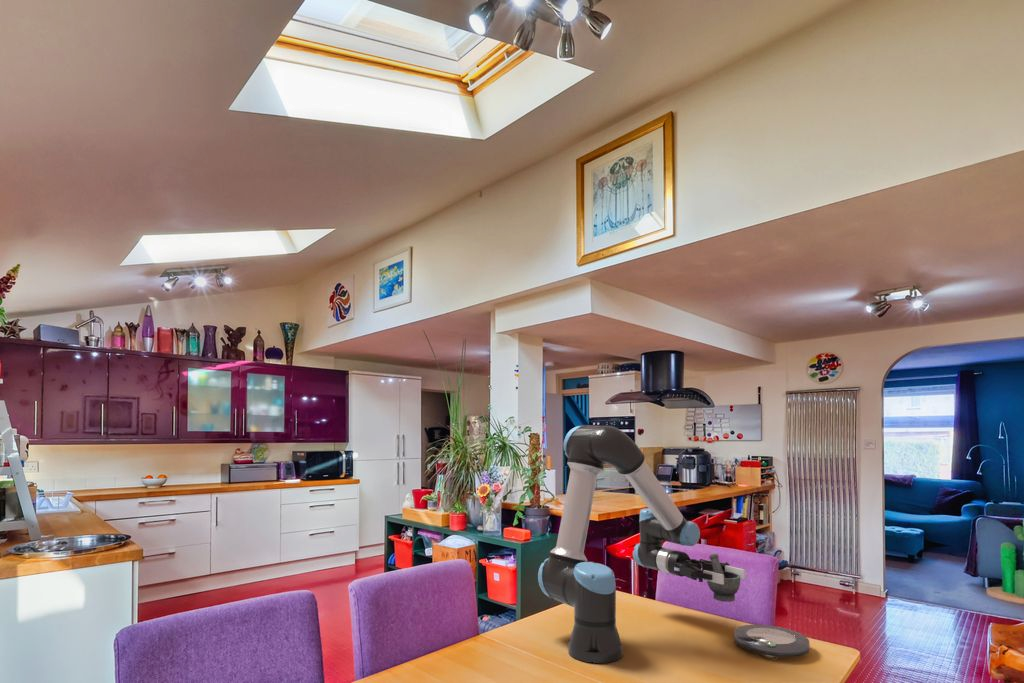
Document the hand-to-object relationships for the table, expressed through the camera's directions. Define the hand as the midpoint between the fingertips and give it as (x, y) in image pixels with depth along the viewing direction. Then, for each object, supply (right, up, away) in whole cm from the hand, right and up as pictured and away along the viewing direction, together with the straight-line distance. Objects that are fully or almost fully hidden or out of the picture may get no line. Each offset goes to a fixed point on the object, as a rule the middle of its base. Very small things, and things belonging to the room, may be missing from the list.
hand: (733, 577), depth 178 cm
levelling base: (+9, -19, -5) cm, 21 cm away
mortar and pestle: (-2, -8, +3) cm, 8 cm away
